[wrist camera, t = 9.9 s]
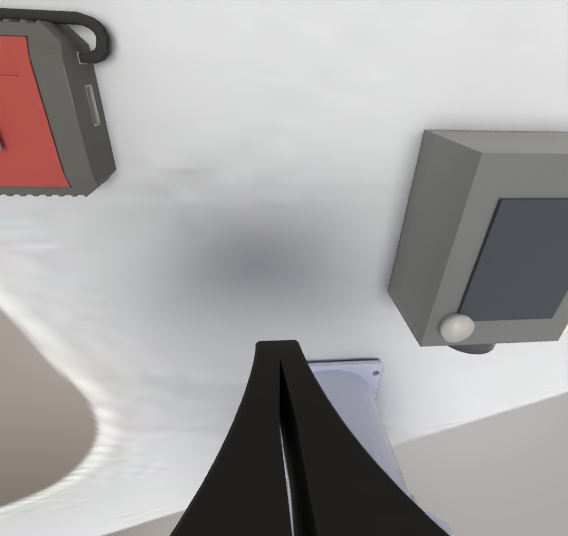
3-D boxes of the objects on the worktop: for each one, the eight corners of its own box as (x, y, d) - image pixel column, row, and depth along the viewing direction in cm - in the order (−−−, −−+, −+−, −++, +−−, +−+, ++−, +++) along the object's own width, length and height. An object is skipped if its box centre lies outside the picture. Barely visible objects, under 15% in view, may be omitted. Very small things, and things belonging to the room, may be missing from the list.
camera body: (501, 303, 24) (563, 362, 19) (384, 306, 23) (419, 369, 18) (578, 132, 18) (694, 157, 13) (424, 129, 17) (490, 155, 12)
